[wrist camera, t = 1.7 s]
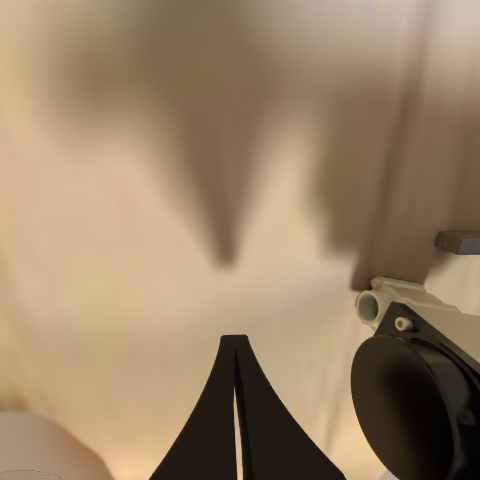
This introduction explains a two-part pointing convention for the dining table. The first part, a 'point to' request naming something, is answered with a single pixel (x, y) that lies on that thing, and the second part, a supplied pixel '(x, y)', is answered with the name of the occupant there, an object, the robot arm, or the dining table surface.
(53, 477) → the base with upright slab
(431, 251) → the dining table surface
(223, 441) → the robot arm
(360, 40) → the dining table surface
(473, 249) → the guide rails
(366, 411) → the pneumatic valve
